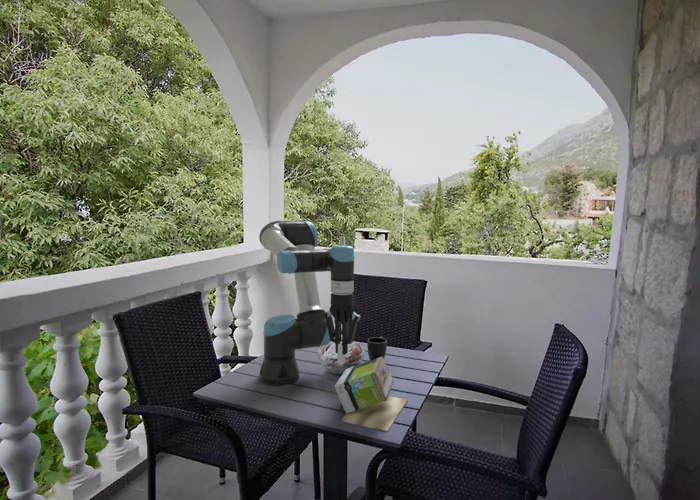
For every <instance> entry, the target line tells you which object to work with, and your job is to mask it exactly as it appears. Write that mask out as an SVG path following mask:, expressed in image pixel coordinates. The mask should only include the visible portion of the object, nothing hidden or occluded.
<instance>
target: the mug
mask: <svg viewBox="0 0 700 500" xmlns="http://www.w3.org/2000/svg"><path fill="white" fill-rule="evenodd" d="M387 343H388V340H387V339H386V338H384V337H383V336H379V337H378V336H377V337H370V338H368V339H367V346H366V347H367V355H368V359H369V361H371V360H374V359H376V358H379V357H382V356H383V358H384V359H385V357H386V353H387V345H388V344H387Z"/></svg>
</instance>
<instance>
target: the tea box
mask: <svg viewBox="0 0 700 500" xmlns="http://www.w3.org/2000/svg"><path fill="white" fill-rule="evenodd" d="M393 384H394V380H393V377H392V375H391V372H390V370H389V368H388V365H387V363H386V361H385V358H383V356H382V357H379V358H376V359H374V360H371V361H370V360H368V361H365V362H363V363H360V364H356V365H355V366H351V367H349V368H346V369H345V370H344V371H343V372H342V375H341V376H340V377H339V379H338V381H337V382H336V384H334V388H335V391H336V394H337V396H338V399H339V401H340V403H341V405H342V408H343V410H344V412H345V413H346V414H347V413H350V412H353V411H356V410H359V409H362V408H365V407H368V406H372V405H375V404H378V403H381V402H384V401H387V400H388V397H389V396H390V393H391V391H392V387H393Z"/></svg>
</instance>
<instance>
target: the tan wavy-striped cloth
mask: <svg viewBox="0 0 700 500" xmlns="http://www.w3.org/2000/svg"><path fill="white" fill-rule="evenodd" d="M407 402H408V399H405V398H400V397H395V396H390V395H389V397H388V400H387V401H384V402H381V403H378V404H375V405H372V406H368V407H365V408H362V409H359V410H356V411H353V412H350V413H346V414H345V415H344V416H343V417H342V418H341V419H340V422H342V423H343V422H344V423H348V424H352V425H355V426H360V427H363V428H364V427H366V428H369V429H374V430H378V431H382V432H386V433H388V432H389V430H390V429H391V427H392V426H393V424H394V423H395V421H396V419H397V418H398V417H399V415H400V414H401V411H402V410H403V408H404V407H405V406H406V404H407Z"/></svg>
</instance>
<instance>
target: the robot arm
mask: <svg viewBox="0 0 700 500" xmlns="http://www.w3.org/2000/svg"><path fill="white" fill-rule="evenodd" d="M258 237H259V239H258V240H259V242H260V245H262V247H263V248H264V249H265V250H266V251H270V252H271V253H272V254H273V255H274V256H275V258H276V266H277V269H278V272H279V273H281V274H289V275H290V274H293V275H294V283H295V287H296V288H295V289H296V294H297V295H296V296H297V300H298V308H299V311H298V312H297V314H296V317H295V316H294V315H292V314H282V315H277V316H273V317H269V319H267V320H266V321H265V322H264V326H263V361H262V364H261V367H260V370H259V373H258V374H259V375H258V376H259V377H258V379H259V381H260V382H261V383H263V384H266V385H269V386H284V385H290V384H292V383H295V382H297V381H298V380H299V378H300V369H299V366H298V364H297V360H296V350H302V349H310V348H320V347H325V346H328V345H329V344H330V342H332V343H334V344H335V347H334V348H335V351H334V352H335V354H337V365H341V366H342V365H344V364H345V363H346V355H347V354H348V350H349V349H348V347H349V346H348V345H351V344H352V343H353V342H354V340H355V335H356V332H357V326H358V324H359V322H360V320H361V318H362V315H361V314H357V313H356V311H355V308H354V301H355V300H354V292H355V290H354V286H355V285H354V283H355V282H354V280H355V278H354V277H355V251H354V250H355V248H354V247H353V246H352V245H344V244H343V245H332V247H331V248H323V249H315V248H316V247H317V245H318V240H319V239H318V238H319V237H318V230H317V228H316V226H315V225H314V223H313V222H311V221H310V220H303V219H302V220H274V221H271V222H269V223H267V224H265V225H264V226H263V227H262V229H261V230H260V232H259V235H258ZM318 272H319V273H320V272H330V292H331V293H330V307H329V310H327V311H326V309H324V308H322V307H321V302H320V301H321V300H320V295H319V287H318V283H317V277H316V273H318ZM351 318H352V319H351ZM350 319H351V320H352V321H351V324H350ZM349 325H350V329H349Z"/></svg>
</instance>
